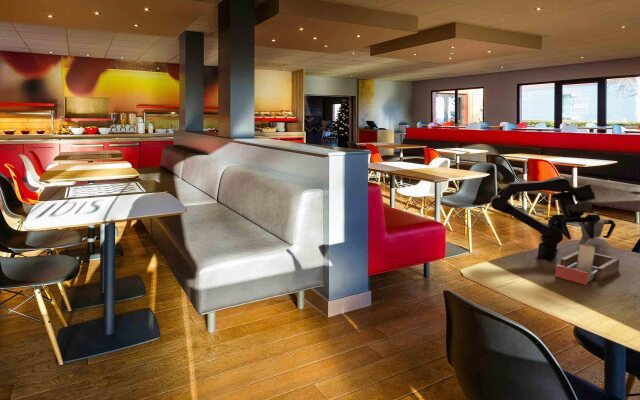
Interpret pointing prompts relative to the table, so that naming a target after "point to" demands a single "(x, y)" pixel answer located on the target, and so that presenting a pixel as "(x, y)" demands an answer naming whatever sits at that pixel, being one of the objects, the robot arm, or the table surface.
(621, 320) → the table surface
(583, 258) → the canister
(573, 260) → the slot
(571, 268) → the tray
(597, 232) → the coffeepot
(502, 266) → the table surface
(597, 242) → the donut
